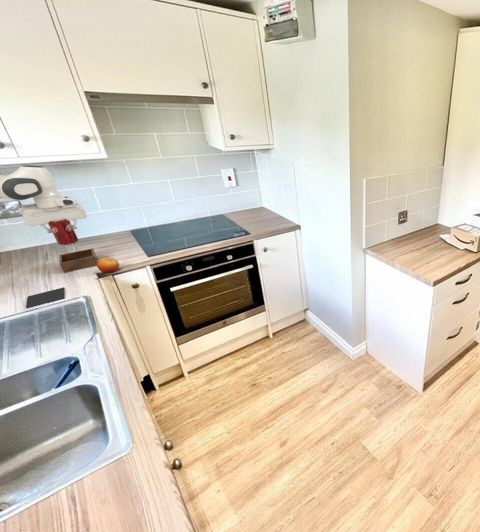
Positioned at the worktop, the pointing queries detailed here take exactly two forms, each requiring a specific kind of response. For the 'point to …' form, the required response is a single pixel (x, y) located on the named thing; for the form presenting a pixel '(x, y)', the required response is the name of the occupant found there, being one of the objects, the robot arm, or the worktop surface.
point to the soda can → (63, 232)
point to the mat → (45, 297)
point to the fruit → (107, 265)
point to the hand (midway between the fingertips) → (63, 230)
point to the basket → (78, 260)
